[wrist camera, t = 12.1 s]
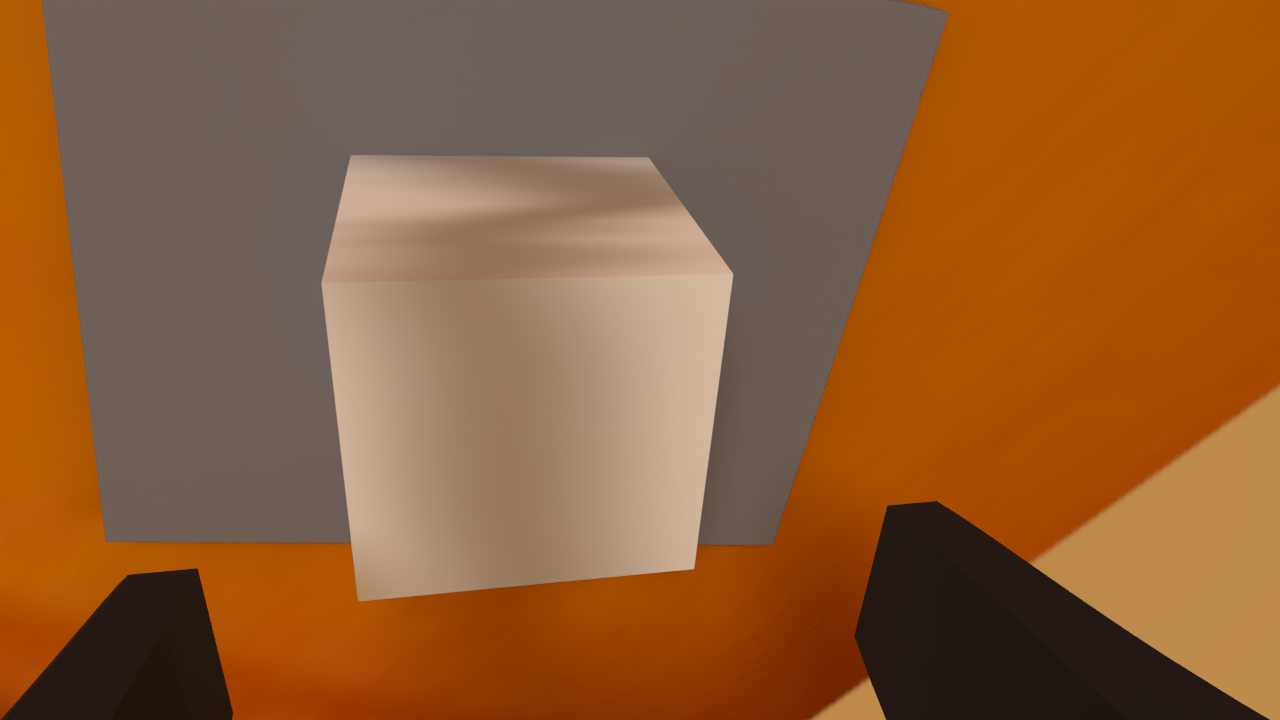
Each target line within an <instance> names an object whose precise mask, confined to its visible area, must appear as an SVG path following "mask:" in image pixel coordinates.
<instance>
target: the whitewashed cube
mask: <svg viewBox="0 0 1280 720" xmlns="http://www.w3.org/2000/svg"><path fill="white" fill-rule="evenodd" d="M732 281H733V273H732V271H731V270H730V269H729V267H728V266H727V265H726V263H725V262H724V260H723V259H722V258H721V256H720V255H719V254H718V252H717V251H716V249H715V248H714V247H713V245H712V244H711V243H710V241H709V240H708V238H707V237H706V236H705V234H704V233H703V232H702V230H701V229H700V227H699V226H698V225H697V223H696V222H695V221H694V219H693V218H692V216H691V215H690V214H689V212H688V211H687V210H686V208H685V207H684V205H683V204H682V203H681V201H680V200H679V199H678V197H677V196H676V194H675V193H674V192H673V190H672V189H671V188H670V186H669V185H668V183H667V182H666V181H665V179H664V178H663V177H662V175H661V174H660V172H659V171H658V170H657V168H656V167H655V166H654V164H653V163H652V161H651V160H650V159H649V157H530V156H405V155H351V156H350V161H349V165H348V170H347V174H346V178H345V183H344V187H343V191H342V196H341V200H340V204H339V209H338V213H337V217H336V222H335V226H334V230H333V235H332V239H331V243H330V248H329V252H328V257H327V261H326V265H325V270H324V274H323V278H322V283H321V284H322V293H323V301H324V310H325V319H326V327H327V336H328V345H329V353H330V362H331V371H332V379H333V388H334V397H335V405H336V414H337V423H338V431H339V440H340V449H341V457H342V466H343V475H344V483H345V492H346V501H347V509H348V518H349V527H350V535H351V544H352V553H353V561H354V570H355V579H356V588H357V596H358V601H368V600H378V599H389V598H399V597H409V596H420V595H430V594H440V593H451V592H461V591H471V590H482V589H492V588H502V587H513V586H523V585H533V584H544V583H554V582H564V581H575V580H585V579H595V578H606V577H616V576H626V575H637V574H647V573H657V572H668V571H678V570H688V569H694V565H695V557H696V550H697V542H698V535H699V527H700V520H701V513H702V505H703V498H704V490H705V483H706V475H707V468H708V460H709V453H710V445H711V438H712V430H713V423H714V415H715V408H716V400H717V393H718V386H719V378H720V371H721V363H722V356H723V348H724V341H725V333H726V326H727V318H728V311H729V303H730V296H731V288H732Z"/></svg>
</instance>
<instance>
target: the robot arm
mask: <svg viewBox="0 0 1280 720" xmlns="http://www.w3.org/2000/svg"><path fill="white" fill-rule="evenodd" d="M855 639H856V642H857V644H858V647H859V650H860V653H861V655H862V658H863V661H864V664H865V666H866V669H867V672H868V675H869V677H870V680H871V683H872V685H873V688H874V690H875V693H876V695H877V698H878V700H879V702H880V705H881V708H882V710H883V713H884V715H885V718H886V720H1269V719H1268V718H1266V717H1264V716H1262V715H1260V714H1259V713H1257V712H1256V711H1254V710H1252V709H1250V708H1249V707H1247V706H1245V705H1244V704H1242V703H1240V702H1239V701H1237V700H1235V699H1234V698H1232V697H1231V696H1229V695H1227V694H1226V693H1224V692H1222V691H1221V690H1219V689H1218V688H1216V687H1215V686H1213V685H1211V684H1210V683H1208V682H1206V681H1205V680H1203V679H1202V678H1200V677H1198V676H1197V675H1195V674H1194V673H1192V672H1190V671H1189V670H1187V669H1185V668H1184V667H1182V666H1181V665H1179V664H1177V663H1176V662H1174V661H1173V660H1171V659H1170V658H1168V657H1166V656H1164V655H1163V654H1162V653H1160V652H1159V651H1157V650H1156V649H1154V648H1153V647H1151V646H1150V645H1148V644H1147V643H1145V642H1143V641H1142V640H1140V639H1139V638H1137V637H1136V636H1134V635H1133V634H1131V633H1130V632H1128V631H1127V630H1125V629H1124V628H1122V627H1121V626H1119V625H1118V624H1116V623H1115V622H1113V621H1112V620H1110V619H1109V618H1107V617H1106V616H1104V615H1103V614H1101V613H1100V612H1099V611H1097V610H1096V609H1094V608H1093V607H1091V606H1089V605H1088V604H1087V603H1085V602H1084V601H1082V600H1081V599H1080V598H1078V597H1077V596H1075V595H1074V594H1072V593H1070V592H1069V591H1068V590H1066V589H1065V588H1064V587H1062V586H1061V585H1059V584H1058V583H1056V582H1055V581H1053V580H1052V579H1050V578H1049V577H1047V576H1046V575H1045V574H1043V573H1042V572H1041V571H1039V570H1038V569H1036V568H1035V567H1033V566H1032V565H1031V564H1029V563H1028V562H1026V561H1025V560H1023V559H1022V558H1021V557H1019V556H1018V555H1016V554H1015V553H1013V552H1012V551H1011V550H1009V549H1008V548H1006V547H1005V546H1003V545H1002V544H1000V543H999V542H998V541H996V540H995V539H993V538H992V537H990V536H989V535H987V534H986V533H985V532H983V531H982V530H980V529H979V528H977V527H976V526H974V525H973V524H971V523H970V522H968V521H967V520H965V519H964V518H962V517H961V516H959V515H958V514H956V513H955V512H953V511H951V510H950V509H948V508H947V507H945V506H943V505H942V504H940V503H939V502H937V501H934V502H923V503H912V504H901V505H890V506H887V510H886V514H885V518H884V522H883V526H882V529H881V533H880V537H879V541H878V545H877V549H876V553H875V557H874V561H873V565H872V569H871V573H870V577H869V581H868V585H867V589H866V593H865V596H864V600H863V604H862V608H861V612H860V616H859V620H858V624H857V628H856V632H855ZM232 716H233V711H232V707H231V703H230V699H229V695H228V691H227V687H226V683H225V679H224V674H223V670H222V666H221V662H220V658H219V654H218V650H217V646H216V642H215V638H214V634H213V630H212V626H211V622H210V617H209V613H208V609H207V605H206V601H205V597H204V593H203V589H202V585H201V581H200V577H199V573H198V569H187V570H176V571H165V572H154V573H143V574H132V575H127V576H126V577H125V578H124V579H123V580H122V581H121V582H120V583H119V584H118V585H117V586H116V588H115V589H114V590H113V591H112V592H111V593H110V594H109V596H108V597H107V598H106V599H105V600H104V601H103V602H102V604H101V605H100V606H99V607H98V608H97V609H96V611H95V612H94V613H93V614H92V615H91V616H90V618H89V619H88V620H87V621H86V622H85V623H84V625H83V626H82V627H81V628H80V629H79V630H78V632H77V633H76V634H75V635H74V636H73V638H72V639H71V640H70V641H69V642H68V643H67V645H66V646H65V647H64V648H63V649H62V650H61V652H60V653H59V654H58V655H57V656H56V657H55V658H54V660H53V661H52V662H51V663H50V664H49V665H48V667H47V668H46V669H45V670H44V671H43V672H42V673H41V675H40V676H39V677H38V678H37V679H36V680H35V681H34V683H33V684H32V685H31V686H30V687H29V688H28V689H27V691H26V692H25V693H24V694H23V695H22V696H21V698H20V699H19V700H18V701H17V702H16V703H15V704H14V705H13V707H12V708H11V709H10V710H9V711H8V712H7V713H6V714H5V715H4V717H3V718H2V719H1V720H232Z"/></svg>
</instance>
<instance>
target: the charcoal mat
mask: <svg viewBox="0 0 1280 720" xmlns="http://www.w3.org/2000/svg"><path fill="white" fill-rule="evenodd" d="M42 5H43V13H44V22H45V30H46V39H47V47H48V56H49V64H50V73H51V81H52V90H53V98H54V107H55V115H56V124H57V132H58V141H59V149H60V158H61V166H62V175H63V183H64V192H65V200H66V209H67V217H68V226H69V234H70V243H71V251H72V260H73V268H74V277H75V285H76V293H77V302H78V310H79V319H80V327H81V336H82V344H83V353H84V361H85V370H86V378H87V387H88V395H89V404H90V412H91V421H92V429H93V438H94V446H95V455H96V463H97V472H98V480H99V489H100V497H101V506H102V514H103V523H104V531H105V540H106V542H255V543H351V535H350V527H349V518H348V509H347V501H346V492H345V483H344V475H343V466H342V457H341V449H340V440H339V431H338V423H337V414H336V405H335V397H334V388H333V379H332V371H331V362H330V353H329V345H328V336H327V327H326V319H325V310H324V301H323V293H322V284H321V283H322V278H323V274H324V270H325V265H326V261H327V257H328V252H329V248H330V243H331V239H332V235H333V230H334V226H335V222H336V217H337V213H338V209H339V204H340V200H341V196H342V191H343V187H344V183H345V178H346V174H347V170H348V165H349V161H350V156H351V155H405V156H530V157H649V159H650V160H651V161H652V163H653V164H654V166H655V167H656V168H657V170H658V171H659V172H660V174H661V175H662V177H663V178H664V179H665V181H666V182H667V183H668V185H669V186H670V188H671V189H672V190H673V192H674V193H675V194H676V196H677V197H678V199H679V200H680V201H681V203H682V204H683V205H684V207H685V208H686V210H687V211H688V212H689V214H690V215H691V216H692V218H693V219H694V221H695V222H696V223H697V225H698V226H699V227H700V229H701V230H702V232H703V233H704V234H705V236H706V237H707V238H708V240H709V241H710V243H711V244H712V245H713V247H714V248H715V249H716V251H717V252H718V254H719V255H720V256H721V258H722V259H723V260H724V262H725V263H726V265H727V266H728V267H729V269H730V270H731V271H732V273H733V281H732V288H731V296H730V303H729V311H728V318H727V326H726V333H725V341H724V348H723V356H722V363H721V371H720V378H719V386H718V393H717V400H716V408H715V415H714V423H713V430H712V438H711V445H710V453H709V460H708V468H707V475H706V483H705V490H704V498H703V505H702V513H701V520H700V527H699V535H698V542H697V545H773V542H774V539H775V536H776V533H777V530H778V527H779V524H780V521H781V518H782V515H783V512H784V509H785V506H786V503H787V500H788V497H789V493H790V490H791V487H792V484H793V481H794V478H795V475H796V472H797V469H798V466H799V463H800V460H801V457H802V454H803V451H804V448H805V445H806V442H807V439H808V436H809V433H810V430H811V427H812V424H813V421H814V418H815V415H816V412H817V409H818V406H819V403H820V400H821V397H822V394H823V391H824V388H825V385H826V382H827V379H828V376H829V373H830V370H831V367H832V364H833V361H834V358H835V355H836V352H837V348H838V345H839V342H840V339H841V336H842V333H843V330H844V327H845V324H846V321H847V318H848V315H849V312H850V309H851V306H852V303H853V300H854V297H855V294H856V291H857V288H858V285H859V282H860V279H861V276H862V273H863V270H864V267H865V264H866V261H867V258H868V255H869V252H870V249H871V246H872V243H873V240H874V237H875V234H876V231H877V228H878V225H879V222H880V219H881V216H882V213H883V210H884V207H885V203H886V200H887V197H888V194H889V191H890V188H891V185H892V182H893V179H894V176H895V173H896V170H897V167H898V164H899V161H900V158H901V155H902V152H903V149H904V146H905V143H906V140H907V137H908V134H909V131H910V128H911V125H912V122H913V119H914V116H915V113H916V110H917V107H918V104H919V101H920V98H921V95H922V92H923V89H924V86H925V83H926V80H927V77H928V74H929V71H930V68H931V65H932V62H933V58H934V55H935V52H936V49H937V46H938V43H939V40H940V37H941V34H942V31H943V28H944V25H945V22H946V19H947V16H948V13H949V12H946V11H943V10H940V9H937V8H934V7H930V6H925V5H919V4H914V3H909V2H904V1H899V0H42Z"/></svg>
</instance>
